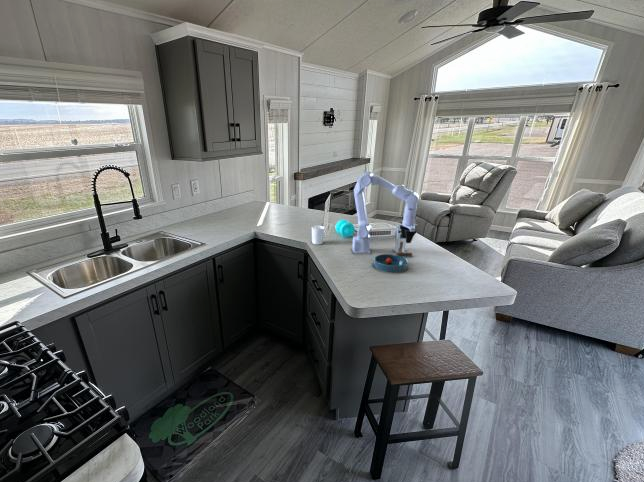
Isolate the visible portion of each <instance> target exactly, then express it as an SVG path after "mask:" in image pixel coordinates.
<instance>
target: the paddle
mask: <svg viewBox="0 0 644 482" xmlns="http://www.w3.org/2000/svg"><path fill="white" fill-rule="evenodd" d="M395 255H398V256H401V257H412V256H413V252H412V251H405V252H395Z"/></svg>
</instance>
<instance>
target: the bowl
mask: <svg viewBox="0 0 644 482" xmlns="http://www.w3.org/2000/svg"><path fill="white" fill-rule="evenodd" d="M388 258H390V259H392V263H391V264H387V263H386V259H388ZM408 262H409V260H408V259H407V258H406V257H405V256H398V255H396V254H392V253H391V254H390V253H382V254H378V255H375V256H374V258H373V267H374V268H376V269H377V270H378V271H381V272H385V273H402V272H405V271H406V270H407V269H408Z"/></svg>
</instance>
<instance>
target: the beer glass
mask: <svg viewBox="0 0 644 482" xmlns="http://www.w3.org/2000/svg"><path fill="white" fill-rule="evenodd" d="M400 225H402V223H400V224H397V225H396V228H395V235H394V237H395V238H394V239H395V246H394V249H393V252H395V253H396V252H406V246H407V245H406V244H407V243H406V238H402V234H401V228H400Z"/></svg>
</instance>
